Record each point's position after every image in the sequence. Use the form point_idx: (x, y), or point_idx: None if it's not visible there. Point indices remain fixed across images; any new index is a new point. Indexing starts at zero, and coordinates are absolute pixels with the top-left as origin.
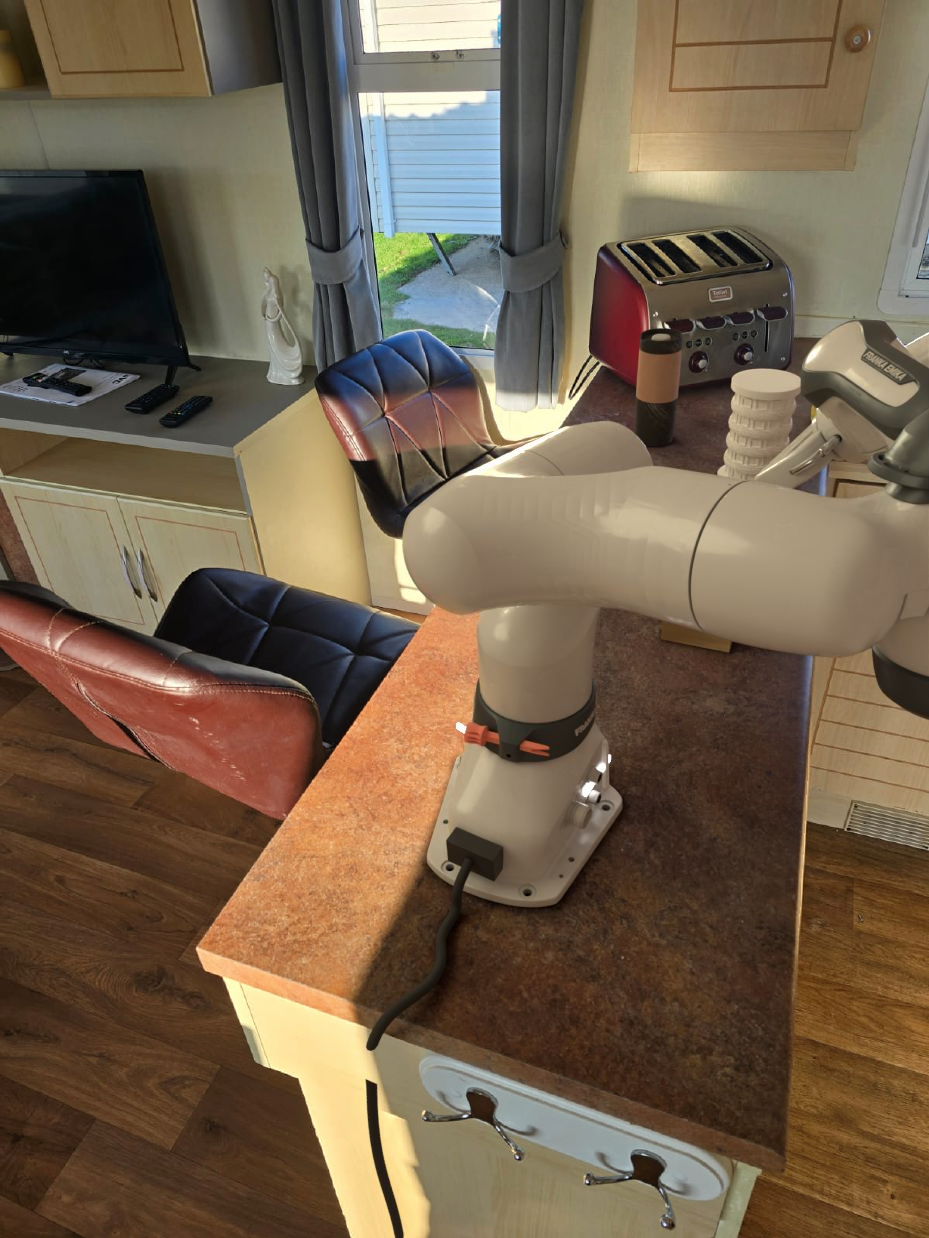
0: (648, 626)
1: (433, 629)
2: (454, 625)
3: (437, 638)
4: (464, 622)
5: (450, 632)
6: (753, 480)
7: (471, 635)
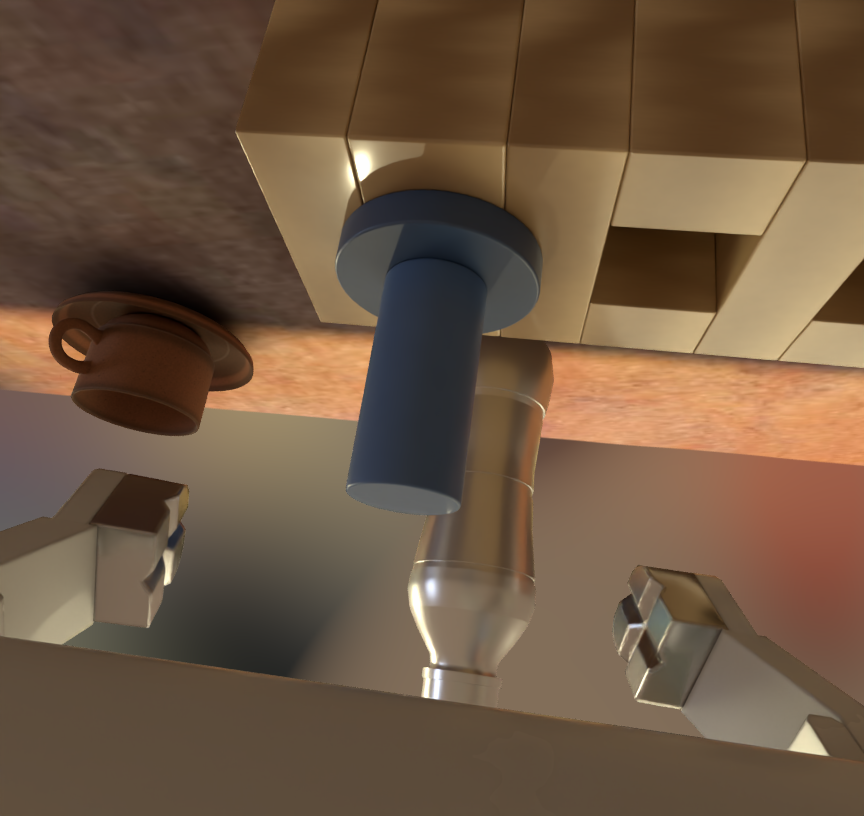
0: None
1: (818, 458)
2: (805, 445)
3: (852, 455)
4: (795, 438)
5: (831, 447)
6: (648, 700)
7: (847, 431)
